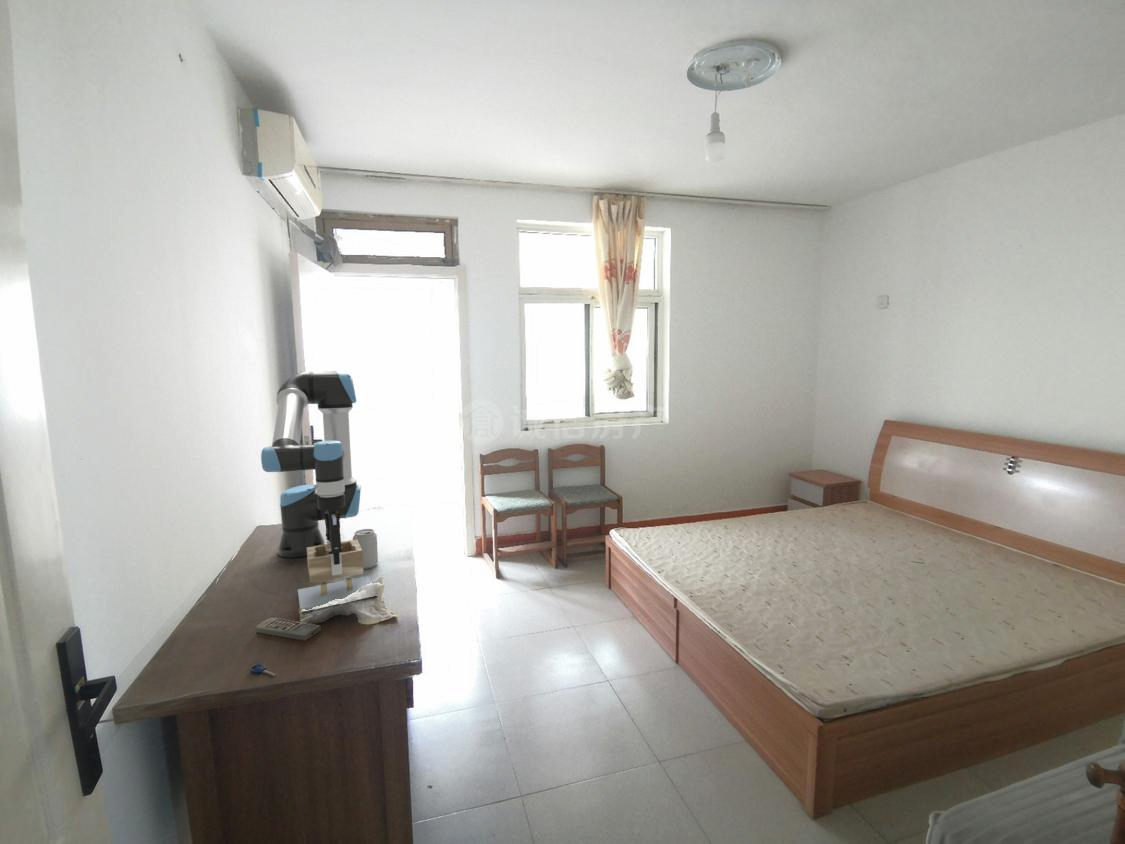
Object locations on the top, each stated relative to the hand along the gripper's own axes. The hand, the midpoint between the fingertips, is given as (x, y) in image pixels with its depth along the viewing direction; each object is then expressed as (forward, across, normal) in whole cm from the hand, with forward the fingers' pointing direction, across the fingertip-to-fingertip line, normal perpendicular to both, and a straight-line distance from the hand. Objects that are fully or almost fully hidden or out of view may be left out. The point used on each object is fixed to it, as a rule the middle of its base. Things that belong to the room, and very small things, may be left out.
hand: (335, 567), depth 153 cm
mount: (+8, +2, 0) cm, 8 cm away
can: (+8, -17, +11) cm, 22 cm away
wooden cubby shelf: (+1, 0, 0) cm, 1 cm away
